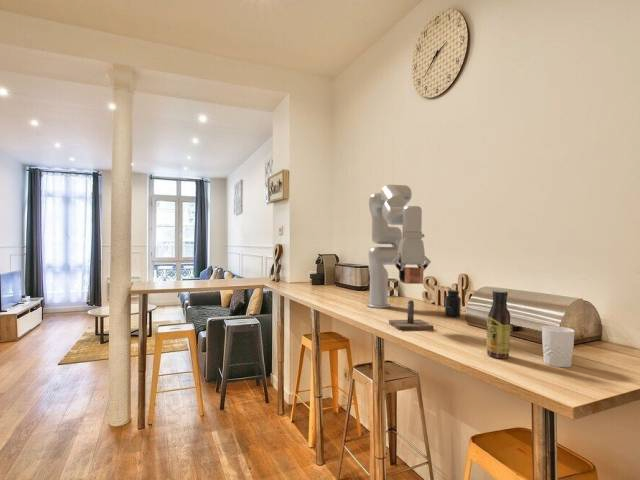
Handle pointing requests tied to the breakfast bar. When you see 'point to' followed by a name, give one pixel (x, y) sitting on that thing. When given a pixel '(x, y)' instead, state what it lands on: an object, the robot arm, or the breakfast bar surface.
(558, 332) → the white cup
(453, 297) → the supplement bottle
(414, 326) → the post board
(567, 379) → the breakfast bar surface
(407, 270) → the reddish brown box
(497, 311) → the sauce bottle
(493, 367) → the breakfast bar surface
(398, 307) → the breakfast bar surface
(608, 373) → the breakfast bar surface
